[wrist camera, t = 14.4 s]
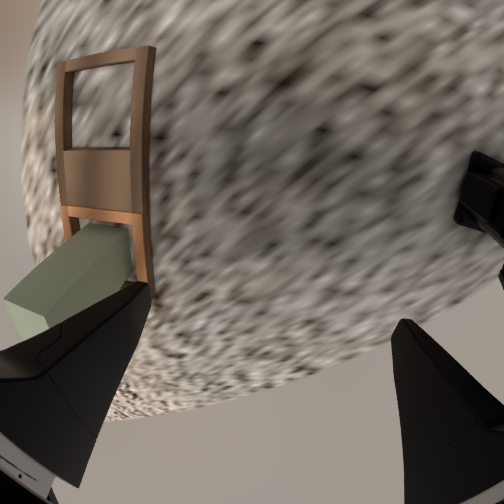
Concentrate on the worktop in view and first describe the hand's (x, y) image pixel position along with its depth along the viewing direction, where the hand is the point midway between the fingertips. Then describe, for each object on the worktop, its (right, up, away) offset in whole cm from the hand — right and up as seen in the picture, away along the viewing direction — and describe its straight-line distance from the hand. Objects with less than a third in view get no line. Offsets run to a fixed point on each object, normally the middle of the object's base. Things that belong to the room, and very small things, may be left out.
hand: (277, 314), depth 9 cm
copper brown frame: (-14, +8, +12) cm, 20 cm away
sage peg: (-14, +2, +15) cm, 21 cm away
